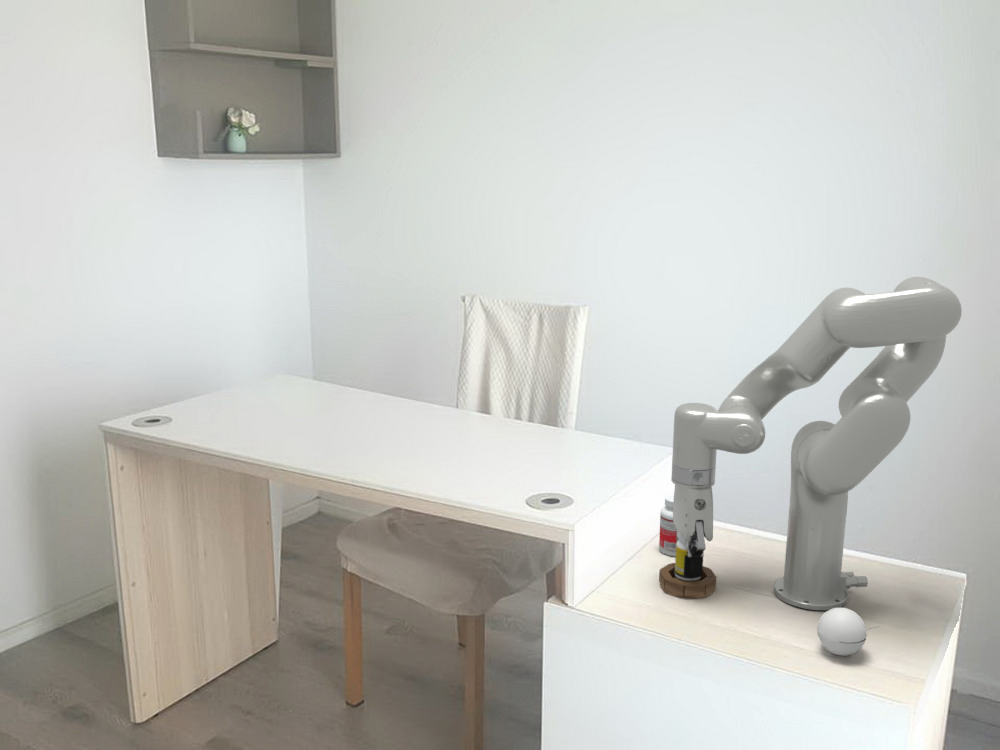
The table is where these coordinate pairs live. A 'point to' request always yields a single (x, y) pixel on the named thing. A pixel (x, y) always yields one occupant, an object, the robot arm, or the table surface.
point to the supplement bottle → (682, 559)
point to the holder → (687, 583)
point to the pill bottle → (667, 528)
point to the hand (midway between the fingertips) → (688, 568)
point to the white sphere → (842, 631)
